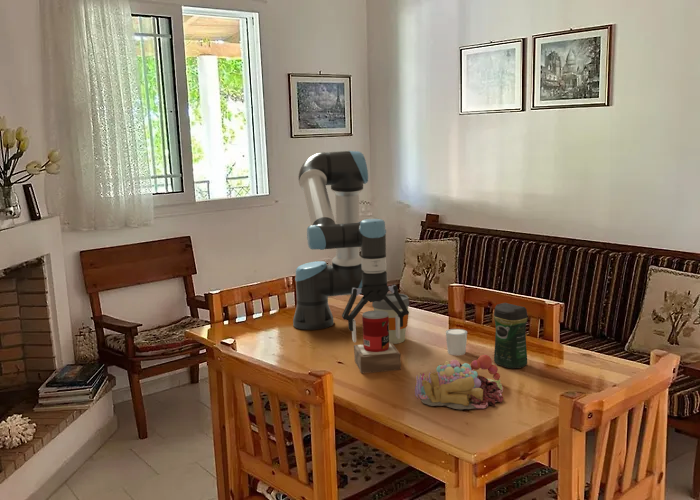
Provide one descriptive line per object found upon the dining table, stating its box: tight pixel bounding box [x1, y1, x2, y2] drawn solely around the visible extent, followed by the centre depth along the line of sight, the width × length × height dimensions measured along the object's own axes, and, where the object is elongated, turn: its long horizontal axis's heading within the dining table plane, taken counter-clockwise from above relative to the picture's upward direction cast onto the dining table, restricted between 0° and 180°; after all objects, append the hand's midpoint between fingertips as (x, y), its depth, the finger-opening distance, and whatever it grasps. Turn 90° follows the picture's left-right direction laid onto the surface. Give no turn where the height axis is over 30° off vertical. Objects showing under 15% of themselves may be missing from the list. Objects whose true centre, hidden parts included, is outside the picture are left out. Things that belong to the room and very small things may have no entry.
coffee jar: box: [493, 302, 528, 369], centre depth 205 cm, size 10×8×19 cm
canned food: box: [361, 310, 389, 352], centre depth 208 cm, size 8×8×11 cm
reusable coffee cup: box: [371, 292, 410, 345], centre depth 234 cm, size 13×13×15 cm
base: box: [353, 342, 402, 374], centre depth 210 cm, size 12×12×5 cm
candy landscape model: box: [414, 354, 504, 410], centre depth 185 cm, size 25×24×9 cm
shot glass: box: [445, 328, 468, 356], centre depth 219 cm, size 7×7×7 cm
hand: (376, 339), depth 209 cm, fingers open, 13 cm apart
